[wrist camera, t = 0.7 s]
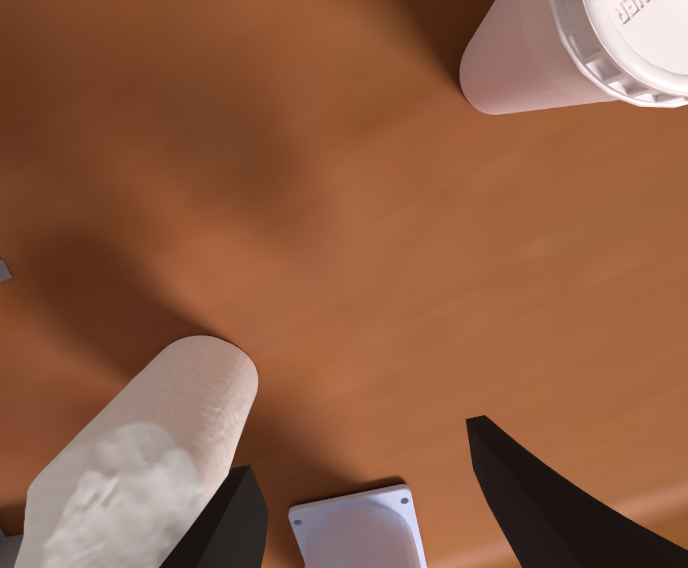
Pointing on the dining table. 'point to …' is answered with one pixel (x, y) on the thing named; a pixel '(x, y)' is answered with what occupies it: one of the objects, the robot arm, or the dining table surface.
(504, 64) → the smoothie
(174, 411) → the white rounded-top container
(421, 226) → the dining table surface
